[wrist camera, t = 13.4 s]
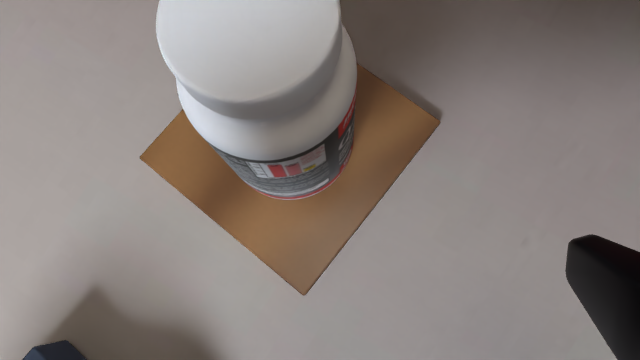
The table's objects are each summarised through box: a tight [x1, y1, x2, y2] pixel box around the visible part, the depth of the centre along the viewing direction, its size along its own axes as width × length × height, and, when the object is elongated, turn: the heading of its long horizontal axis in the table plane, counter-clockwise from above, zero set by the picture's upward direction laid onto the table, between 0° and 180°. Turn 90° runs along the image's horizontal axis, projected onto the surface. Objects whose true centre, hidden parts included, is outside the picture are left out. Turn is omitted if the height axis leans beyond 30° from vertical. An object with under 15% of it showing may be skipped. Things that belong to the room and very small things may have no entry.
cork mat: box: [140, 63, 440, 295], centre depth 21 cm, size 10×10×1 cm
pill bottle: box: [156, 0, 357, 200], centre depth 16 cm, size 6×6×10 cm
